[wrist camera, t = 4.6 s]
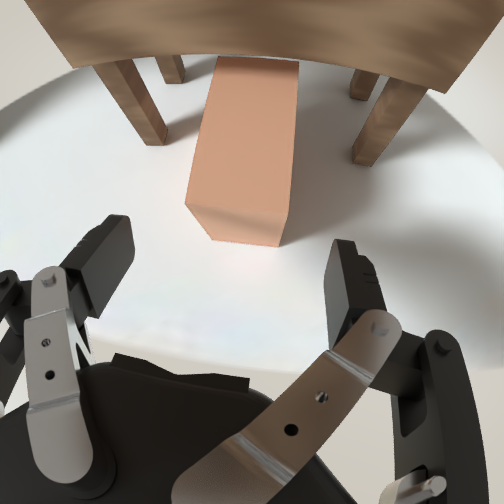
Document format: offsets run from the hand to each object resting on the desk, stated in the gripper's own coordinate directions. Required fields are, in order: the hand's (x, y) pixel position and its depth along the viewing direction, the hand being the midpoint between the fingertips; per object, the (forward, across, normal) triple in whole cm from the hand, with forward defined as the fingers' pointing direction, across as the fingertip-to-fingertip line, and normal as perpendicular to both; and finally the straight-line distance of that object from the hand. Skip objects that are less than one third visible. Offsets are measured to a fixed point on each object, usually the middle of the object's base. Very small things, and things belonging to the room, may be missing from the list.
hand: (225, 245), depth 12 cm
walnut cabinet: (+15, 0, -3) cm, 16 cm away
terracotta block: (+11, 0, +2) cm, 11 cm away
